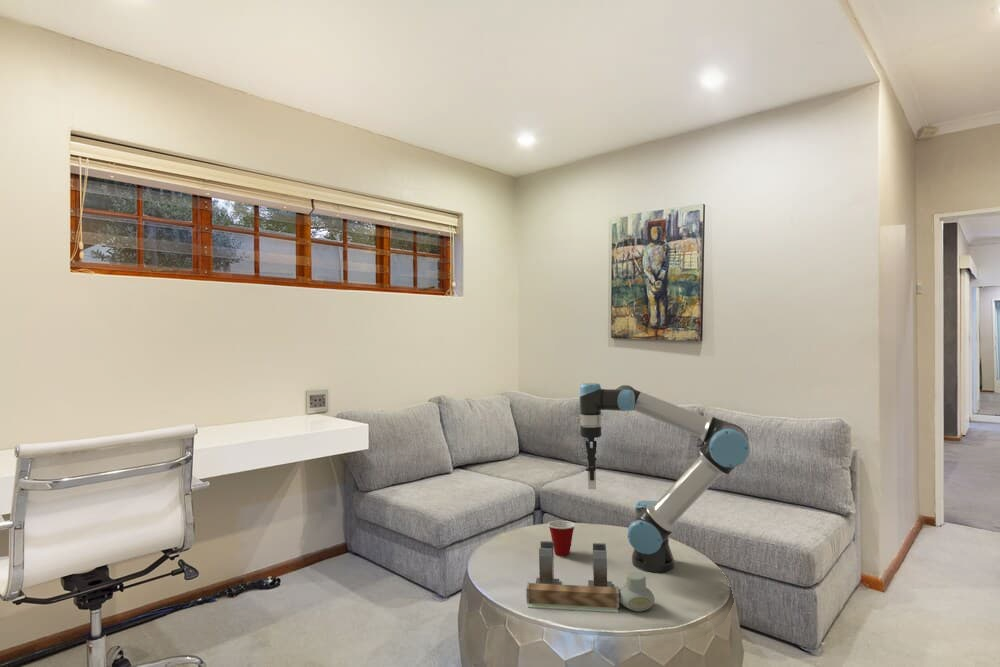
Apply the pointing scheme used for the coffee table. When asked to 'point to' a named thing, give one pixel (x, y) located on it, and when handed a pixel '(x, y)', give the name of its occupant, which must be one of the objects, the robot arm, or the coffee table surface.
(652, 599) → the air freshener
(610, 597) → the rail
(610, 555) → the coffee table surface
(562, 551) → the plastic cup
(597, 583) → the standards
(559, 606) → the mat
